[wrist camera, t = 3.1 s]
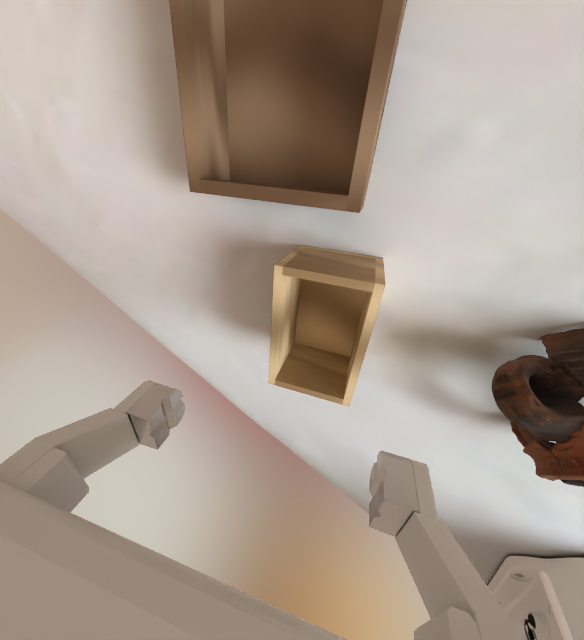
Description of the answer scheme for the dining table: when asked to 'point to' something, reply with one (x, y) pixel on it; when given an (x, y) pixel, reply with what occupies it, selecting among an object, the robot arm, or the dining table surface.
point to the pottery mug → (548, 405)
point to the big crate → (284, 95)
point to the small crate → (323, 320)
